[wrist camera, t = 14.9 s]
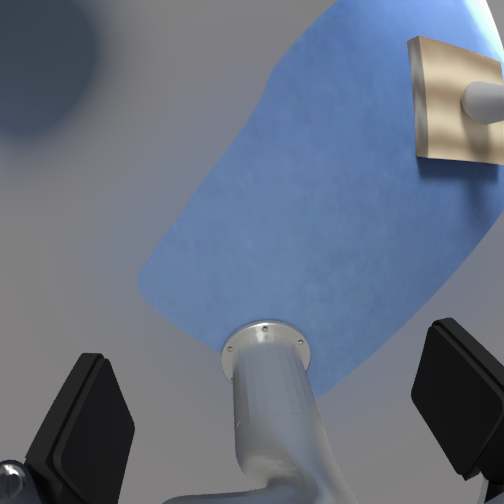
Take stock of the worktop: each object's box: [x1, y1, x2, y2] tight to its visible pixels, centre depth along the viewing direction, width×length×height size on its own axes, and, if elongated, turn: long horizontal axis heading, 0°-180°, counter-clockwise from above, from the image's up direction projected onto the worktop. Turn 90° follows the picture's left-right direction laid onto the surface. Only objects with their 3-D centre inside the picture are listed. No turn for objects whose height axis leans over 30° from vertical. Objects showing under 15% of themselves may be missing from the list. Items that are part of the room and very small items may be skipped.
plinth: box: [407, 36, 504, 165], centre depth 33 cm, size 16×16×3 cm
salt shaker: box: [460, 81, 504, 125], centre depth 25 cm, size 6×6×13 cm
